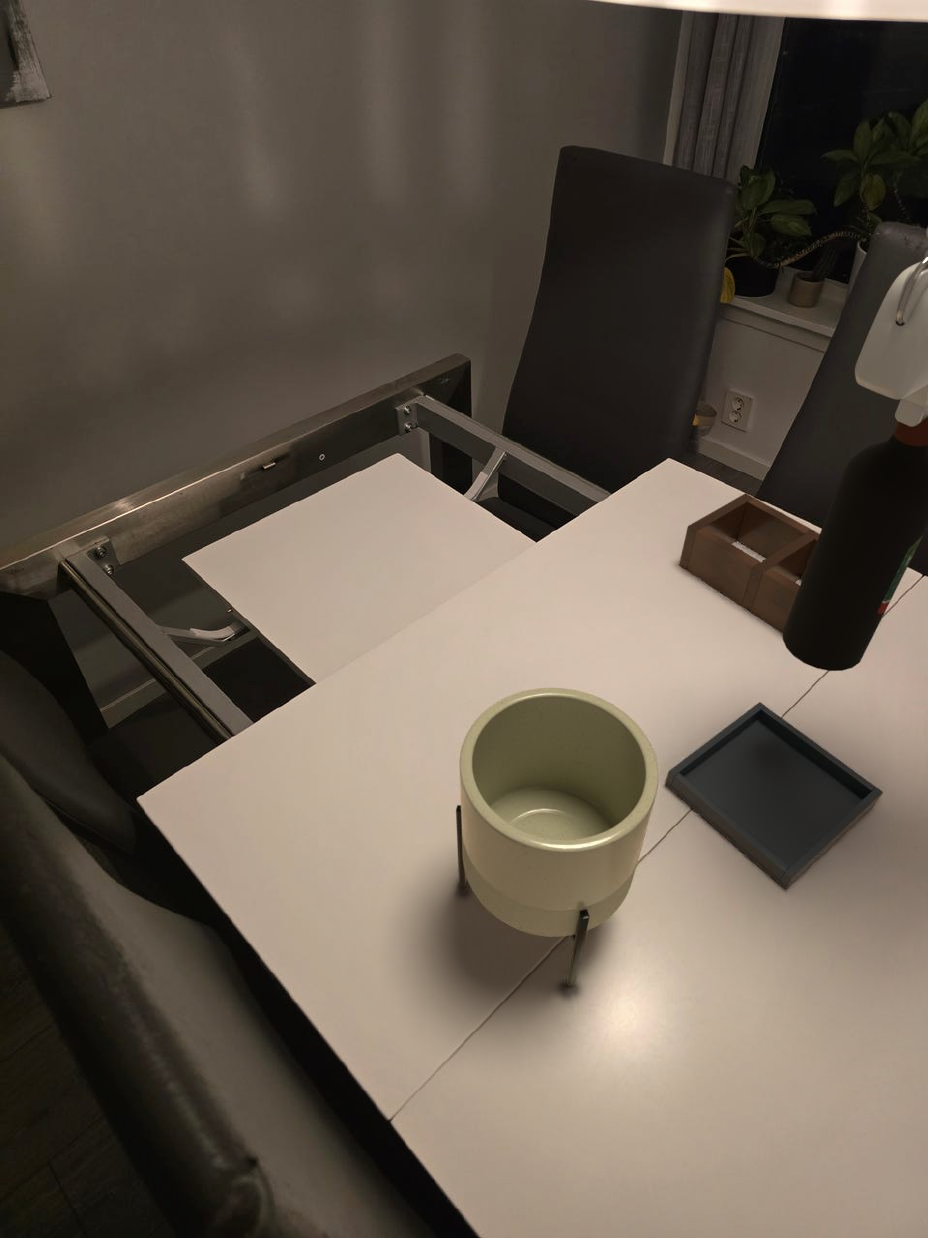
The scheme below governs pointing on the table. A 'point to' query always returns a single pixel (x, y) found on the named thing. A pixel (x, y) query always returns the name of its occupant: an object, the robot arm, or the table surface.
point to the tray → (773, 792)
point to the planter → (553, 811)
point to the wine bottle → (861, 551)
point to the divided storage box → (741, 574)
